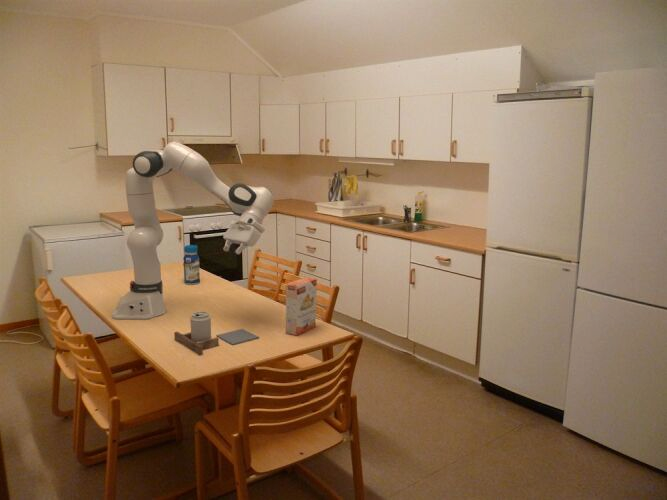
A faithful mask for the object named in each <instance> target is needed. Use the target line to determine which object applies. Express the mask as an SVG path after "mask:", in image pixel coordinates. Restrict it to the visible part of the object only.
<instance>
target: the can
mask: <svg viewBox="0 0 667 500" xmlns="http://www.w3.org/2000/svg"><path fill="white" fill-rule="evenodd" d="M211 319H212V317H211V315H210V313H209V312H207V311H195V312H192V313H191V317H190V332H191V340H192V341H194V342H199V341H204V340H208V339H212V321H211Z"/></svg>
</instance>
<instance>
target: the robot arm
mask: <svg viewBox="0 0 667 500" xmlns="http://www.w3.org/2000/svg"><path fill="white" fill-rule="evenodd" d="M172 170H174V171H176V172H178V173H179V174H180V175H182V176H184V177H185V178H187V179H189V180H190V181H192V182H193V183H196V184H197V185H199V186H200V187H203V188H204V189H205V190H207V191H208V192H210V193H211V194H212V195H214V196H215V197H217V198H218V199H220V200H221V202H224V203H225V204H226V205H227V206H228V208H229V209H230V211H231V213H233V214H234V215H235V216H238V217H239V218H238V219H237V221H236V223H232V224H231V225H230V226H229V227H228V229H227V230H226V231H225V233H224V234H223V239H224V240H225V244H224V247H223V249H222V250H223V251H224V252H229V250H230V248H231V246H232V244H236V245H239V246H238V247H237V248H236V249H235V250H234V253H235V254H236V255H240V254H241V253H242V252H243V251H244V250H245V249H246V248H248V247H253V246H255V245H256V244H257V242H258V241H259V239H260V237H261V236H262V234H263V233H264V232H265V230H266V228H265V227H264V226H263V225H262V224H263V221H264V219H265V217H267V216H268V214H269V212H270V210H272V208H273V206H274V203H275V195H274V194H273V193H272V191H271V190H270V189H268V188H266V187H265V186H250V185H246V184H244V183H242V182H241V183H235V184H233V185H232V186H230V187H229V186H228V185H226V183H224V182H223V181H221V180H220V179H219V178H218V176H217V175H216V174H215V173H214V171H213V169H212V167H211V165H210V163H209V161H208V160H207V159H206V158H205V157H203V156H202V154H200V153H199V152H197V151H195V150H194V149H192V148H190V147H189V146H187V145H185V144H182V143H180V142H177V141H170V142H169V143H167V144H166V145H165V146H164V148H163V149H162V148H159V149H156V148H155V149H149V150H144V151H141V152H138V153H137V154H136V155H135V156H134V157H133V160H132V167H131V168H129V169H128V170H127V171H126V173H125V193H126V194H125V195H126V201H127V209H128V213H129V215H130V217H131V219H132V221H133V226H134V229H133V230H132V231H131V232H130V233H129V235H128V237H127V240H126V247H127V248H128V250H129V251H130V255H131V260H132V263H133V264H132V265H133V275H134V278H133V279H134V280H131V281H130V282H129V291H128V292H127V293H125V294H124V295H123V296H122V297H120V299H119V300H118V302H117V308H115V309H114V310H112V312H111V313H112V314H111V317H112V319H116V320H119V319H120V320H121V319H122V320H124V319H125V320H150V319H152V318H155V317H159V316H161V315H164V314H166V312H167V309H166V306H165V303H164V297H163V293H164V285H163V280H162V275H161V274H162V271H161V262H160V261H159V260H160V259H159V256H158V251H157V247H158V246H159V245H160V244H161V243H162V241H163V238H164V231H163V229H162V226H161V223H160V220H159V216H158V213H157V208H156V200H155V194H154V193H155V192H154V186H153V185H154V183H153V182H154V179H155V178H160V177H162V176H164V175H166V174H168V173H170V172H172Z"/></svg>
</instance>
